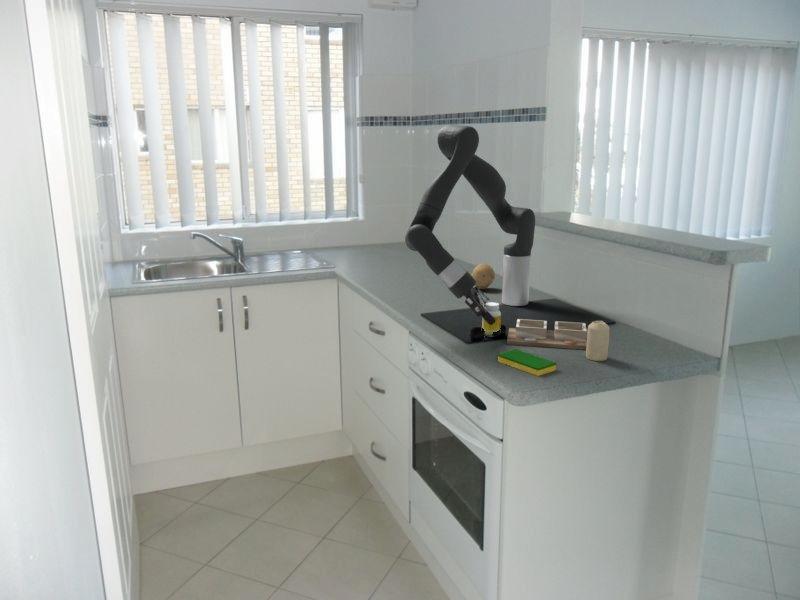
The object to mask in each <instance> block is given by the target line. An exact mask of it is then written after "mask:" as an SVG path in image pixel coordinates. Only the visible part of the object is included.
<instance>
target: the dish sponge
mask: <svg viewBox="0 0 800 600" xmlns="http://www.w3.org/2000/svg"><path fill="white" fill-rule="evenodd" d="M497 356H498V357H497V362H498V361H499V363H501V364H503V365H506V364H507V366H509V365H510V367H512V368H514V367H515V369H517V368H518V370H520V371H523V372H526V373H529V374H531V375H534V376H543V375H545V374H549V373H552V372H555V371H557V362H555V361H552V360H549V359H547V358H544V357H541V356H538V355H534V354H531V353H529V352H526V351H523V350H519V349H517V348H514V349H512V350H507V351H504V352H502V353H500V352H499V353H498V354H497Z"/></svg>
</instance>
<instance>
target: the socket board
mask: <svg viewBox="0 0 800 600" xmlns="http://www.w3.org/2000/svg"><path fill="white" fill-rule="evenodd" d="M586 325H587V324H586V322H574V321H558V320H555V321H554V330H547V326H548V321H547V320H542V319H540V320H539V319H525V318H517V319H516V326H515V328H514V327H509V328H508V332H507V339H506V345H514V346H529V347H542V348H557V349H558V348H559V349H569V350H570V349H571V350H572V349H573V350H585V351H586V347H587V334H588V329H587V326H586Z"/></svg>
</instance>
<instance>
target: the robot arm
mask: <svg viewBox="0 0 800 600" xmlns="http://www.w3.org/2000/svg"><path fill="white" fill-rule="evenodd" d="M479 143H480V136H479V133H478V130H477V129H476V127H475V128H474V127H473V126H468V125H458V124H456V125H455V124H449V125H445V126H443V127H442V128H440V130H439V131H438V134H437V145H438V149H439V150H440V152H441V153H442V155H444V157H445V158H446V159H447V160H448V161H449V162H448V164H447V165H446V167H445V168H444V169H442V172H440V173H439V175H437V176H436V177H435V178H434V179H433V180H432V181H431V183H429V185H428V186H427V188H426V189H425V191H424V194H423V196H422V197H421V200H420V202H419V205H418V207H417V210H416V214H415V216H414V217H413V220H412V222H410V223H411V224H410V225H409V227H408V229H407V231H406V234H405V236H404V240H405V241H404V242H405V245H406V247H407V248H408V249H409V250H411V251H413V252H417V253H419V254H420V256H421V257H423V259H424V260H425V263H426V265H427V267H428V268H429V269H430V271H432V272H433V273H434V274H435V275H436V276H437V277H438V278H439V280H440V281H441V283H442V284H443V285H444V286H445V287H446V288H447V289H448V290H449V291H450V292H451V293H452V295H454V297H455V298H456V299H461V298H463V297H464V298H465V299H466V300H464V303H465V304H466V305H467V306H468V307H469V308H470V309H471V310H472V312H473V313H474V314H475V315H476V316H477V317H478V318H479V317H482V319H483V318H484V319H485V320H486V322H487V323H488V324H489V325H492V324H493V323H495V321H496V319H495V318H494V317H493V316H492V315H491V314H490V313H489V312H488V311H487V309H486V308H485V304H486V303H489V302H491V301H490V298H489V297H487V295H486V294H485V293H484V292H482V289H480V288H478V287H477V286H475V284H476V280H475V279H474V278H473V277H472V276H471V273H470V272H468V270H467V269H466V268H465V267H464V266H463V265H462V264H461V263H460V262H458V261H457V260H456V259H455V258H454V256H453V255H451V253H450V252H449V251H447V250H446V249H445V248H444V247H443V245H442V244H441V242H440V241H439V239H438V238H437V237H436V235H435V233H433V231H434V229H435V226H436V224H437V222H438V221H439V220H440V218H441V216H442V213H443V211H444V209H445V206H446V204H447V202H448V200H449V198H450V195H451V193H452V191H453V190H454V188H455V186H456V184H457V183H458V182H459V180H460V178H461V177H462V176H463V177H464V179H465V180H466V181H467V182H468V184H469V185H470V186H471V187H472V189H473V190H474V192H475V193H476V194H477V195H478V197H479V198H480V199H481V200H482V201H483V202H484V204H485V205H486V207H487V208H488V209H489V210H490V212H491V214H492V216H493V217H494V219H495V220H496V222H497V224H498V226H499V228H500V229H501V231H503V232H504V233H506V234H509V235H516V239H515V241H514V242H513V243H509V244H506V245H505V246H504V248H503V261H502V262H503V263H502V265H503V266H502V286H501V288H502V289H501V303H502V304H503V305H506V306H513V307H519V306H520V307H521V306H527V305H528V304H529V296H530V295H529V294H530V280H531V279H530V278H531V259H532V257H531V256H532V250H533V246H534V236H535V229H536V215H535V212H534V211H533V210H532V209H531V208H527V207H519V206H518V207H517V206H512V205H511V204H510V203H509V202H508V201H507V200H506V198H505V197H506V193H507V186H506V182H505V179H503V177H502V175H501V174H500V173H499V171H498V170H497V169H496V167H494V166H493V165H492V164H490V163H489V162H488V161H486V160H484V159H483V158H482V157H479V156H478V155H477V154H476V152H477V150H478V147H479V145H480V144H479Z"/></svg>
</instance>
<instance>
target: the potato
mask: <svg viewBox="0 0 800 600" xmlns="http://www.w3.org/2000/svg"><path fill="white" fill-rule="evenodd" d="M470 275H471V276H472V277H473V278H474V279H475V280H476V284H475V285H474V287H475V286H477V287H478V288H479V289H480V290H485V289H487V288H489V287H490V286H491V285H492V284H493V282H494V281H495V277H496V276H495V275H496V273H495V271H494V269H493V267H492V266H491V265H490V264H488V263H480V264H478V265H477V266H475V267H474V268H473V270H472V272H471V273H470Z"/></svg>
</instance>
